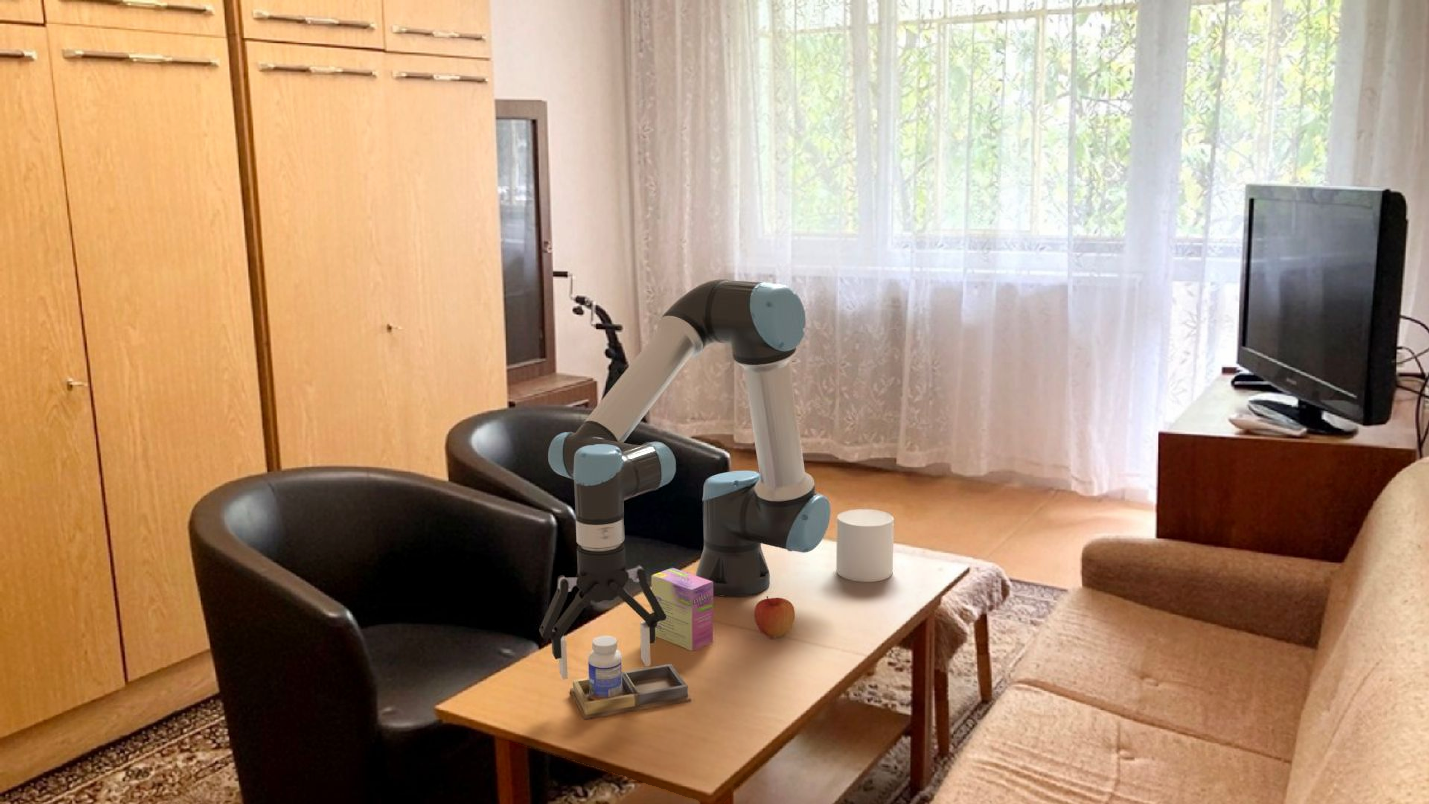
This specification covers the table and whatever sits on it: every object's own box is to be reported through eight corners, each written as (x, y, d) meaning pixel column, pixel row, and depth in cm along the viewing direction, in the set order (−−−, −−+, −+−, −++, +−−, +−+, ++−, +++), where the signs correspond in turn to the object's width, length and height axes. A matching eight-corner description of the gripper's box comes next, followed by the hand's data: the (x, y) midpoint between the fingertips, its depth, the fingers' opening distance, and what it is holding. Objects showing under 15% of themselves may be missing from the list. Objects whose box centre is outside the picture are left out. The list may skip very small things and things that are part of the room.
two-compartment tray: (584, 719, 179) (584, 706, 178) (570, 691, 188) (569, 678, 188) (691, 700, 184) (691, 688, 184) (671, 673, 194) (671, 661, 193)
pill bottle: (590, 688, 188) (588, 633, 186) (623, 687, 188) (621, 632, 186) (588, 704, 182) (586, 648, 180) (622, 703, 183) (620, 647, 181)
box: (714, 642, 206) (713, 580, 204) (692, 652, 202) (691, 589, 200) (673, 626, 213) (672, 566, 211) (651, 636, 209) (650, 575, 207)
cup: (896, 582, 233) (897, 526, 231) (839, 582, 234) (839, 526, 231) (888, 561, 245) (889, 508, 242) (834, 562, 245) (834, 508, 243)
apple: (802, 638, 207) (802, 597, 205) (769, 648, 203) (768, 605, 202) (780, 624, 213) (780, 584, 211) (747, 633, 210) (746, 592, 208)
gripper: (526, 561, 172) (532, 691, 176) (683, 541, 180) (686, 665, 184) (517, 546, 178) (523, 671, 183) (669, 526, 187) (671, 647, 191)
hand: (605, 669), depth 184 cm, fingers open, 13 cm apart
